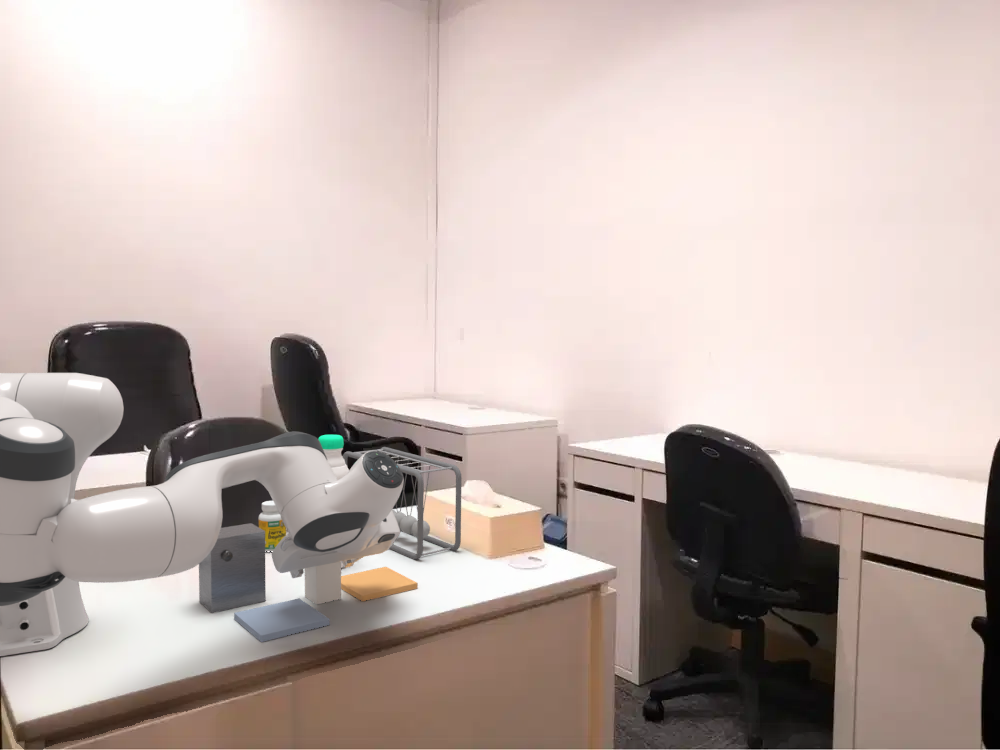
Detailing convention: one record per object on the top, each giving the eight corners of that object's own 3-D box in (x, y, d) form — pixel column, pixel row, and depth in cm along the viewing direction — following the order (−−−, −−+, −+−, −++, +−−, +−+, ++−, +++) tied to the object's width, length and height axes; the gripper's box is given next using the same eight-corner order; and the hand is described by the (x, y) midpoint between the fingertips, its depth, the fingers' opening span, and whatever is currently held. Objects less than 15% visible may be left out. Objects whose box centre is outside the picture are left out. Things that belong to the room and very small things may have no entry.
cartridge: (316, 604, 136) (316, 551, 135) (304, 596, 140) (303, 545, 139) (341, 598, 139) (341, 547, 138) (329, 591, 143) (329, 540, 142)
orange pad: (362, 601, 138) (362, 595, 138) (332, 583, 146) (332, 577, 146) (417, 588, 145) (417, 582, 145) (385, 571, 153) (385, 566, 153)
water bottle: (354, 560, 160) (354, 433, 158) (343, 571, 153) (343, 439, 151) (318, 558, 160) (318, 432, 158) (307, 570, 154) (306, 438, 151)
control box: (213, 614, 131) (211, 540, 130) (198, 601, 137) (197, 530, 136) (267, 602, 137) (266, 531, 136) (251, 590, 142) (250, 522, 141)
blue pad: (261, 642, 121) (261, 635, 121) (234, 618, 129) (234, 612, 129) (329, 625, 128) (329, 618, 128) (299, 604, 136) (299, 598, 136)
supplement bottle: (278, 543, 170) (277, 498, 169) (291, 549, 166) (291, 503, 165) (253, 548, 166) (253, 502, 165) (267, 554, 162) (266, 507, 161)
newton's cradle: (461, 552, 166) (462, 466, 165) (419, 562, 159) (420, 472, 158) (381, 521, 189) (381, 445, 187) (341, 529, 182) (341, 450, 180)
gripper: (293, 553, 123) (267, 597, 131) (409, 531, 136) (379, 573, 144) (280, 518, 126) (256, 563, 135) (395, 500, 139) (367, 542, 147)
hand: (321, 568), depth 139 cm, fingers open, 8 cm apart
